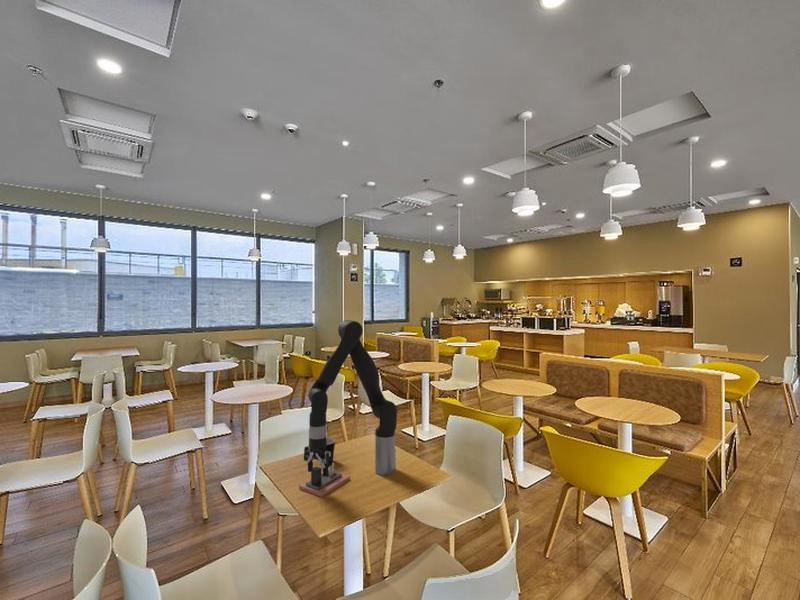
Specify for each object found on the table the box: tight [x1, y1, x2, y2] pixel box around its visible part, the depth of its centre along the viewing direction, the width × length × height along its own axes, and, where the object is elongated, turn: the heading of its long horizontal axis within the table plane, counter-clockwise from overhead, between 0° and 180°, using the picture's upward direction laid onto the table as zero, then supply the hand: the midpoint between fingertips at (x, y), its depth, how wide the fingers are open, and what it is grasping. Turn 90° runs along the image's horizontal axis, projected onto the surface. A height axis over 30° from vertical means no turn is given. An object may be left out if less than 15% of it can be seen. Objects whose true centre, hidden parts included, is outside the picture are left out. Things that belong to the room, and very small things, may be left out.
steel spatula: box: [306, 466, 343, 490], centre depth 161 cm, size 15×7×7 cm, turn 149°
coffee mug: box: [322, 437, 336, 464], centre depth 186 cm, size 12×9×10 cm
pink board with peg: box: [298, 462, 351, 498], centre depth 162 cm, size 18×13×8 cm
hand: (317, 473), depth 158 cm, fingers open, 8 cm apart
